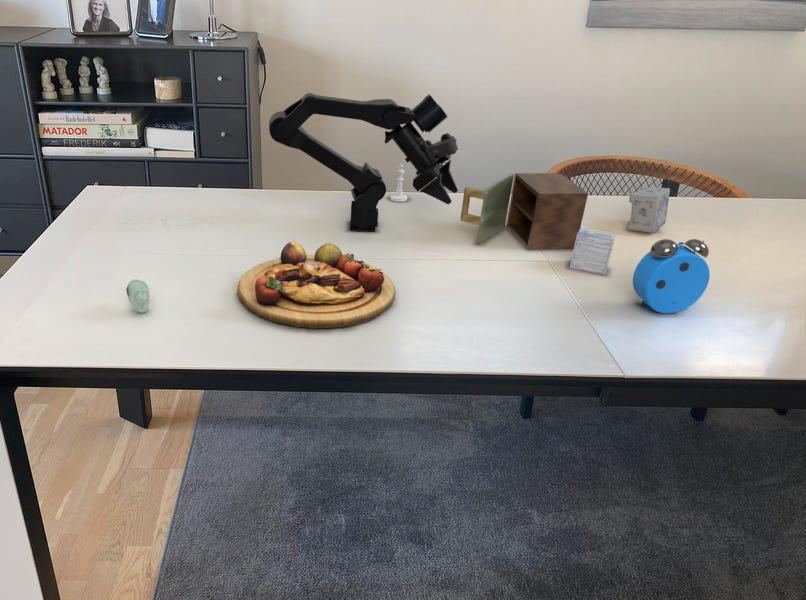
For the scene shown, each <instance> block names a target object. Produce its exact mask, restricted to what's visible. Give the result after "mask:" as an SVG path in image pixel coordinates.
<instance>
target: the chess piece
mask: <svg viewBox="0 0 806 600" xmlns="http://www.w3.org/2000/svg"><path fill="white" fill-rule="evenodd" d="M398 168H400V169H397V175H398V177H397V178H396V181H397V187H396V191H395V192H394V193H392V194H390V196H389V200H391V201H393V202H399V203H400V202H406V201H408V196H407V195H406V194H404V192H403V181H405V178H404V177H403V176H404V174H405V172H406V171H405V169H404V168H406V167H405V165H403V162H401V163H400V165H399V164H398Z"/></svg>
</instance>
